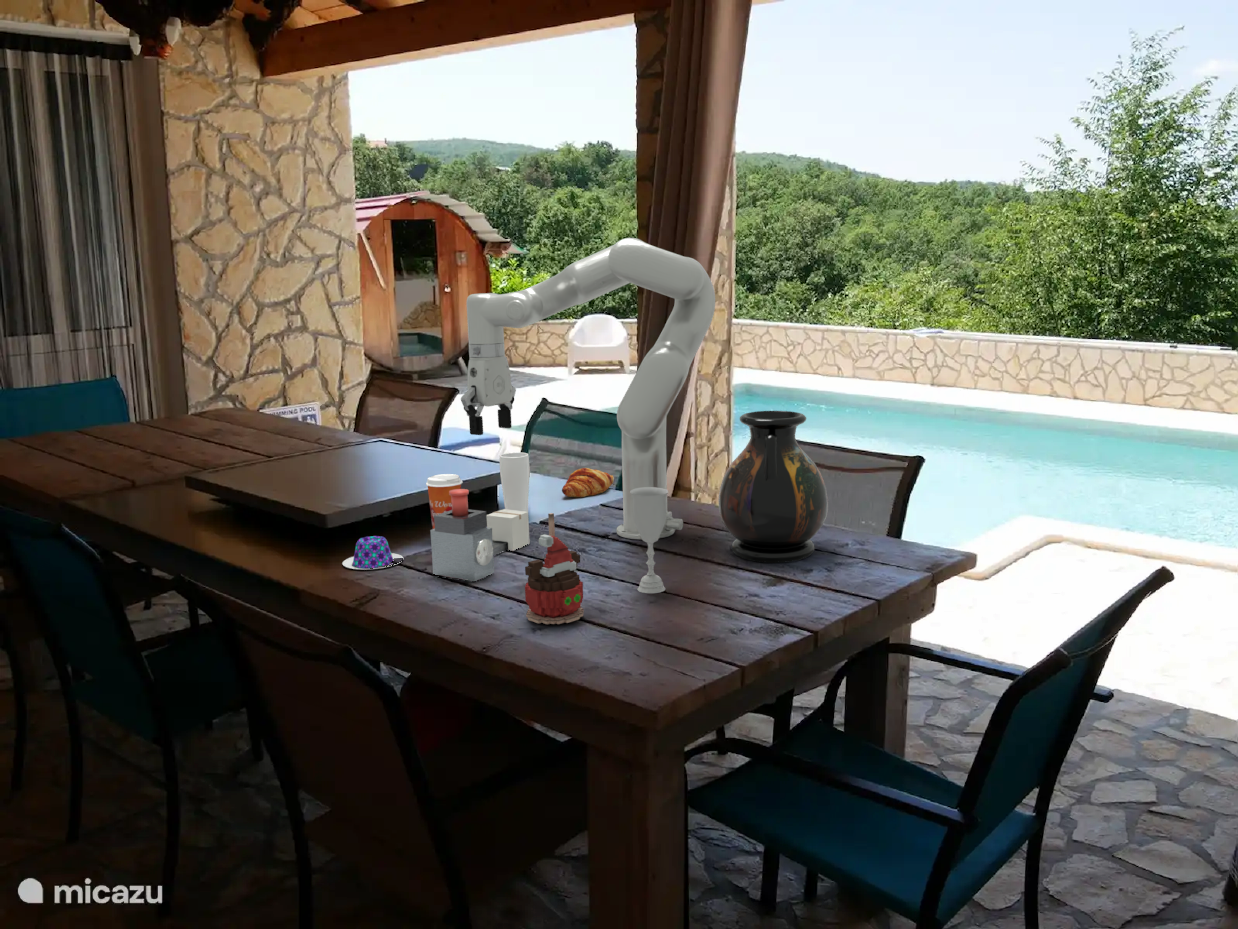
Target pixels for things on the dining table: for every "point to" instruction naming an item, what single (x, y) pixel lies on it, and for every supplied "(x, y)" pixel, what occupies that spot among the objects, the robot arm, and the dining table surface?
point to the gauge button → (459, 502)
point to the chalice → (650, 529)
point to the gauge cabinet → (462, 545)
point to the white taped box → (509, 527)
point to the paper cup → (441, 493)
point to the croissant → (587, 483)
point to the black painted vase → (773, 492)
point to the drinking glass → (515, 480)
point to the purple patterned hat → (371, 554)
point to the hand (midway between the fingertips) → (491, 431)
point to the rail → (500, 547)
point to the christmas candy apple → (554, 583)
